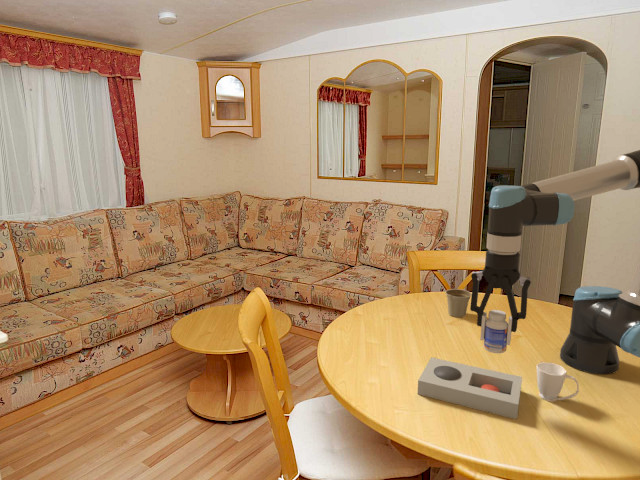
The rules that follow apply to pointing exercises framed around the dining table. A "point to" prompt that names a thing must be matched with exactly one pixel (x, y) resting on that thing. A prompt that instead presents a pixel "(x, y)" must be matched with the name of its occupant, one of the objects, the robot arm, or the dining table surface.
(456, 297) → the flower pot
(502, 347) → the pill bottle
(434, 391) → the grey recessed tray
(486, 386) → the breaker button
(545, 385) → the cup
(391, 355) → the dining table surface
